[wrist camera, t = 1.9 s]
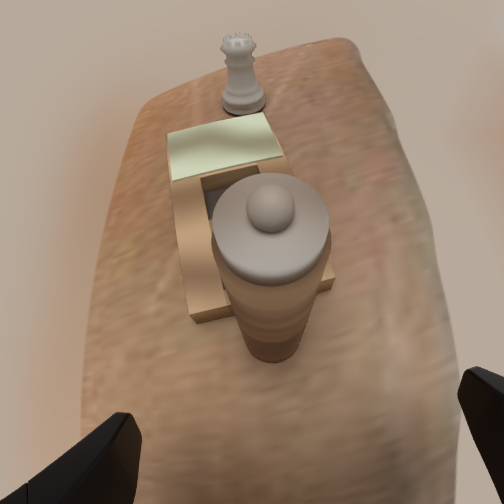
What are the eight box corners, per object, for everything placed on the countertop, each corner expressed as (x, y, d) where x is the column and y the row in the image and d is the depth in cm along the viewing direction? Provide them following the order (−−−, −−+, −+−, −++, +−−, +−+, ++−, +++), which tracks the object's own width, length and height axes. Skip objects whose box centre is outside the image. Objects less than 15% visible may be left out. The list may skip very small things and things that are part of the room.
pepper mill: (306, 354, 19) (366, 236, 7) (252, 368, 19) (210, 276, 6) (291, 304, 21) (313, 132, 8) (239, 318, 20) (188, 158, 8)
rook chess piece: (218, 117, 30) (206, 48, 23) (227, 93, 32) (218, 30, 25) (263, 118, 29) (259, 47, 22) (268, 94, 31) (265, 29, 24)
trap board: (330, 289, 21) (336, 275, 19) (196, 323, 20) (188, 313, 18) (265, 128, 29) (264, 110, 27) (170, 150, 28) (164, 132, 26)
